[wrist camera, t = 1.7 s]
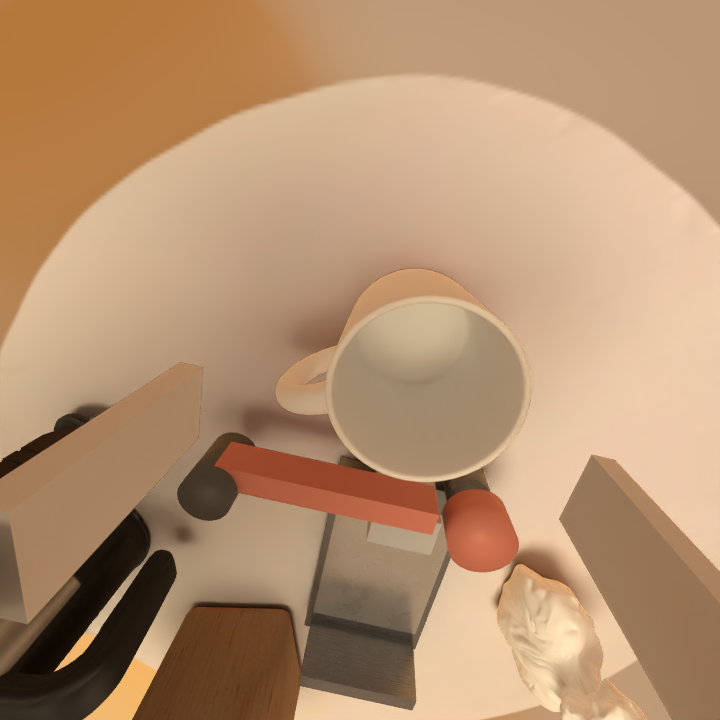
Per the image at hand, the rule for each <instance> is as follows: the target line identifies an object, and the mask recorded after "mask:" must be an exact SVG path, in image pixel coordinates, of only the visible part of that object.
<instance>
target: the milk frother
mask: <svg viewBox="0 0 720 720" xmlns="http://www.w3.org/2000/svg"><path fill="white" fill-rule="evenodd" d="M89 421H90V419H88V418H86V417H84V416H82V415H79V414H67V415H65V416H63V417H61V418H59V419H58V420H57V422H56V424H55V427H54V431H56V430H59V429H61V428H64V427H67V426H70V427H74V428H79V427H81V426H83V425H84V424H86V423H87V422H89ZM148 548H149V540H148V534H147V531H146V529H145V526H144V524H143V523H142V522H141V520H140V518H139V517H138V516H137V515H136V514H135V512H134V511H131V512H130V513H129V514H128V515H127V516H126V517H125V519H124V520H123V521H122V522H121V523H120V524H119V525H118V526H117V527H116V528H115V529H114V531H113V532H112V533H111V534H110V535H109V536H108V537H107V538H106V539H105V540H104V541H103V543H102V544H101V545H100V546H99V547H98V548H97V549H96V550H95V551H94V552H93V554H92V555H91V556H90V557H89V558H88V559H87V560H86V561H85V562H84V563H83V564H82V566H81V567H80V568H79V569H78V570H77V571H76V572H75V573H74V574H73V575H72V576H71V578H70V579H69V580H68V581H67V582H66V583H65V584H64V585H63V586H62V587H61V588H60V590H59V591H58V592H57V593H56V594H55V595H54V596H53V597H52V598H51V599H50V600H49V602H48V603H47V604H46V605H45V606H44V607H43V608H42V609H41V610H40V611H39V613H38V614H37V615H36V616H35V617H34V618H33V619H32V620H31V621H30V622H29V623H28V624H24V623H19V622H15V621H11V620H7V619H2V618H0V720H83V719H84V718H86V717H87V716H88V715H89V714H91V713H92V712H93V711H94V710H95V709H96V708H98V706H100V705H101V703H103V702H104V700H106V699H107V697H108V696H109V695H110V694H111V693H112V692H113V690H114V689H115V688H116V687H117V685H118V684H119V682H120V681H121V679H122V678H123V676H124V674H125V672H126V671H127V669H128V667H129V665H130V664H131V661H132V660H133V658H134V656H135V654H136V652H137V650H138V648H139V646H140V645H141V643H142V641H143V639H144V637H145V636H146V634H147V632H148V630H149V628H150V626H151V624H152V623H153V621H154V619H155V617H156V615H157V613H158V611H159V609H160V607H161V605H162V603H163V602H164V600H165V598H166V596H167V594H168V592H169V590H170V588H171V586H172V584H173V583H174V581H175V578H176V574H177V572H176V565H175V561H174V558H173V556H172V554H171V553H170V552H169V551H167V550H158V551H156V552H154V553H153V554H152V555H151V556H150V557H149V559H148V560H147V562H146V563H145V564H144V566H143V567H142V569H141V570H140V572H139V573H138V575H137V576H136V577H135V579H134V581H133V582H132V584H131V585H130V586H129V588H128V589H127V591H126V592H125V594H124V596H123V597H122V599H121V600H120V601H119V603H118V604H117V605H116V607H115V608H114V610H113V611H112V613H111V614H110V615H109V617H108V618H107V620H106V621H105V623H104V624H103V626H102V627H101V629H100V631H99V633H98V634H97V636H96V637H95V638H94V640H93V641H92V643H91V644H90V645H89V647H88V648H87V649H86V650H85V652H84V653H83V654H82V655H80V656H79V657H78V658H77V659H76V660H74V661H73V662H71V663H70V664H68V665H67V666H65V667H63V668H61V669H59V670H58V671H55V669H56V668H57V667H58V666H59V664H60V663H61V661H62V660H63V659H64V658H65V657H66V655H67V654H68V653H69V652H70V650H71V649H72V648H73V646H74V645H75V644H76V642H77V641H78V640H79V638H80V637H81V636H82V635H83V634H84V632H85V631H86V630H87V628H88V627H89V625H90V624H91V623H92V621H93V620H94V619H95V618H96V617H97V616H98V614H99V612H100V611H101V610H102V609H103V608H104V606H105V605H106V604H107V602H108V601H109V600H110V598H111V597H112V596H113V595H114V593H115V592H116V591H117V590H118V588H119V587H120V586H121V584H122V583H123V582H124V581H125V579H126V578H127V577H128V576H129V574H130V573H131V572H132V571H133V570H134V569H135V568H136V567H138V566H139V565H140V564H141V563H142V562H143V560H144V559H145V557H146V555H147V553H148ZM54 671H55V672H54Z"/></svg>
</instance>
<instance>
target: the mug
mask: <svg viewBox="0 0 720 720" xmlns="http://www.w3.org/2000/svg"><path fill="white" fill-rule="evenodd" d="M325 372H327V375H326V380H325V381H322V382H318V383H313V384H306V383H307V382H309V381H310V380H311V379H313V378H315V377H316V376H318V375H320V374H322V373H325ZM305 384H306V385H305ZM531 391H532V387H531V373H530V368H529V363H528V360H527V358H526V355H525V352H524V350H523V348H522V346H521V344H520V342H519V341H518V339H517V338H516V337H515V335H514V334H513V332H512V331H511V330H510V329H509V328H508V327H507V326H506V325H505V324H504V323H503V322H502V321H501V320H500V319H499V318H498V317H496V316H495V315H494V314H493V313H492V312H491V311H489V310H488V309H487V308H486V307H485V306H484V305H482V304H481V303H480V302H479V301H478V300H477V299H475V298H474V297H473V296H472V295H471V294H469V293H468V292H467V291H466V290H465V289H464V288H462V287H461V286H460V285H459V284H457V283H456V282H455V281H453V280H452V279H450V278H448V277H446V276H445V275H442V274H440V273H437V272H434V271H430V270H426V269H405V270H399V271H396V272H393V273H390V274H388V275H386V276H383V277H382V278H380V279H378V280H377V281H375V282H374V283H373V284H372V285H370V286H369V287H368V288H367V289H366V290H365V291H364V292H363V294H362V295H361V296H360V298H359V299H358V300H357V302H356V304H355V306H354V308H353V310H352V312H351V314H350V316H349V319H348V321H347V323H346V325H345V328H344V330H343V332H342V335H341V337H340V339H339V341H338V344H337V345H336V346H333V347H329V348H327V349H324V350H321V351H319V352H316V353H314V354H312V355H310V356H307V357H306V358H304V359H302V360H300V361H299V362H297V363H296V364H294V365H293V366H291V367H290V368H289V369H288V370H287V371H286V372H285V373H284V374H283V375H282V376H281V378H280V379H279V381H278V382H277V386H276V389H275V393H276V399H277V401H278V402H279V404H280V405H281V406H282V407H283V408H285V409H286V410H288V411H290V412H292V413H296V414H305V415H318V414H328V415H329V418H330V421H331V423H332V426H333V428H334V429H335V431H336V433H337V435H338V437H339V438H340V440H341V441H342V442H343V444H344V445H345V446H346V447H347V449H348V450H349V451H350V452H351V453H352V454H353V455H354V456H356V457H357V458H358V459H359V460H360V461H362V462H363V463H365V464H366V465H368V466H369V467H371V468H372V469H374V470H377V471H379V472H381V473H383V474H385V475H388V476H391V477H394V478H398V479H402V480H407V481H415V482H436V481H444V480H449V479H454V478H458V477H461V476H464V475H467V474H469V473H471V472H473V471H476V470H478V469H480V468H481V467H483V466H485V465H486V464H488V463H490V462H491V461H492V460H494V459H495V458H496V457H497V456H499V455H500V454H501V453H502V452H503V451H504V450H505V449H506V448H507V447H508V446H509V445H510V443H511V442H512V441H513V440H514V438H515V437H516V435H517V434H518V432H519V430H520V429H521V427H522V425H523V423H524V420H525V418H526V416H527V412H528V409H529V405H530V399H531Z"/></svg>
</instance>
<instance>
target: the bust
mask: <svg viewBox="0 0 720 720" xmlns="http://www.w3.org/2000/svg"><path fill="white" fill-rule="evenodd" d="M497 622H498V625H499V627H500V629H501V631H502V633H503V635H504V637H505V638H506V640H507V642H508V644H509V645H510V646H511V648H512V652H513V656H514V659H515V661H516V665H517V668H518V672H519V675H520V677H521V679H522V681H523V683H524V684H525V686H526V687H527V688H528V689H529V691H530V692H531V693H532V695H533V696H534V697H535V698H536V699H537V700H538V701H539V702H540V703H541V704H542V706H543V707H545V708H547V709H549V710H551V711H553V712H559V711H560V714H561V720H647V718H646V716H645V715H644V713H643V712H642V711H641V710H640V708H639V707H638V706H637V705H636V704H635V703H634V702H633V701H632V700H631V699H629V698H628V697H626V696H624V695H623V694H622V693H621V692H620V691H619V690H618V689H617V688H616V687H615V686H614V685H613V684H612V683H611V682H610V681H609V680H608V679H607V678H606V679H604V680H603V682H602V685H601V683H600V681H601V675H600V669H601V666H602V662H603V651H602V648H601V645H600V641H599V639H598V637H597V635H596V633H595V630H594V624H593V621H592V619H591V618H590V616H589V615H588V614H587V613H586V611H585V609H584V608H583V607H582V605H581V604H580V602H579V601H578V599H577V598H576V596H575V595H574V593H573V592H572V590H571V589H570V588H569V587H567V586H566V585H564V584H562V583H561V582H558V581H556V580H553V579H547V578H543V577H541V576H540V575H539V574H537V573H536V572H534V571H533V570H531V569H529V568H528V567H527V566H525V565H523V564H518V565H517V566H516V567H515V568H514V571H513V573H512V575H511V578H510V579H509V580H508V581H507V582H506V583H504V585H503V588H502V595H501V598H500V602H499V606H498V610H497Z"/></svg>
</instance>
